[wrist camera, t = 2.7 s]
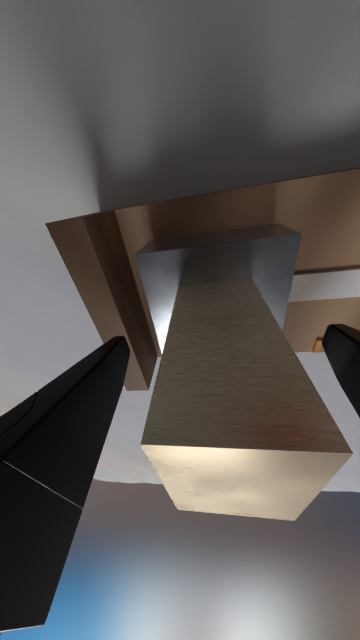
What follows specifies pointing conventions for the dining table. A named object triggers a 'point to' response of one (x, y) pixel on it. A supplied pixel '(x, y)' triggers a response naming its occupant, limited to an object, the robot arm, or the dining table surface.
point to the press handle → (233, 378)
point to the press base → (212, 216)
